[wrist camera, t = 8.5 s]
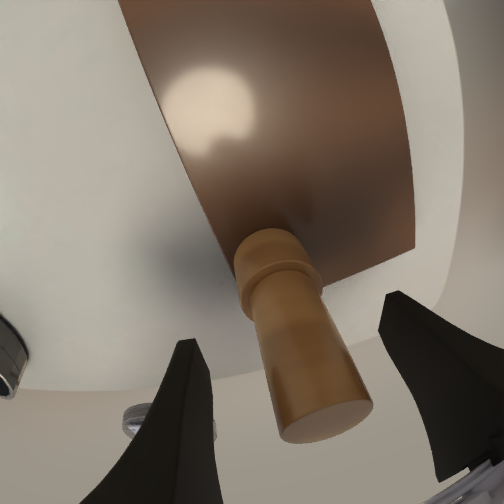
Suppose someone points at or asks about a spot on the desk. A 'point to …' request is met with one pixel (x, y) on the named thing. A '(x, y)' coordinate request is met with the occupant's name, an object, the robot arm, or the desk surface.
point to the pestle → (298, 340)
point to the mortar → (10, 361)
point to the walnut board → (285, 122)
